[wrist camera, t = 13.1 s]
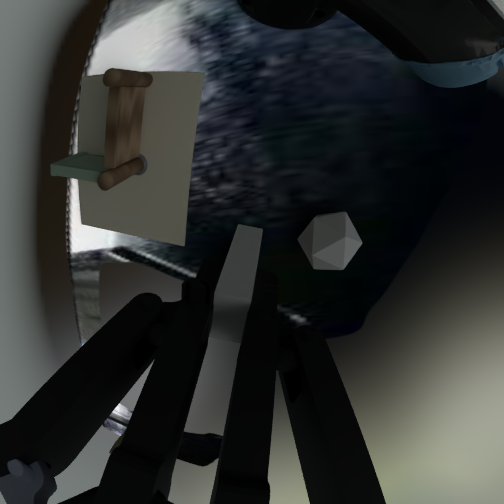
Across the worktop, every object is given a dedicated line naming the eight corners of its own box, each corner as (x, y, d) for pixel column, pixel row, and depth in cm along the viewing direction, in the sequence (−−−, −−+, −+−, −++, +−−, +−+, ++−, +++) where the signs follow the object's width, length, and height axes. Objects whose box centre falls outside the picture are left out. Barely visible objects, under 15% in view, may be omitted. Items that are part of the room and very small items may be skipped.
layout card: (83, 76, 32) (82, 76, 32) (205, 73, 32) (204, 73, 32) (82, 223, 46) (81, 224, 46) (184, 245, 46) (184, 246, 46)
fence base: (141, 73, 32) (103, 69, 24) (154, 72, 32) (119, 67, 24) (132, 170, 40) (97, 189, 32) (144, 171, 40) (111, 191, 32)
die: (287, 235, 44) (309, 289, 40) (297, 200, 37) (325, 261, 32) (332, 226, 46) (356, 276, 41) (348, 192, 38) (379, 247, 34)
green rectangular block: (128, 158, 39) (99, 171, 31) (128, 168, 40) (98, 184, 32) (82, 151, 38) (50, 164, 31) (82, 161, 39) (50, 175, 32)
